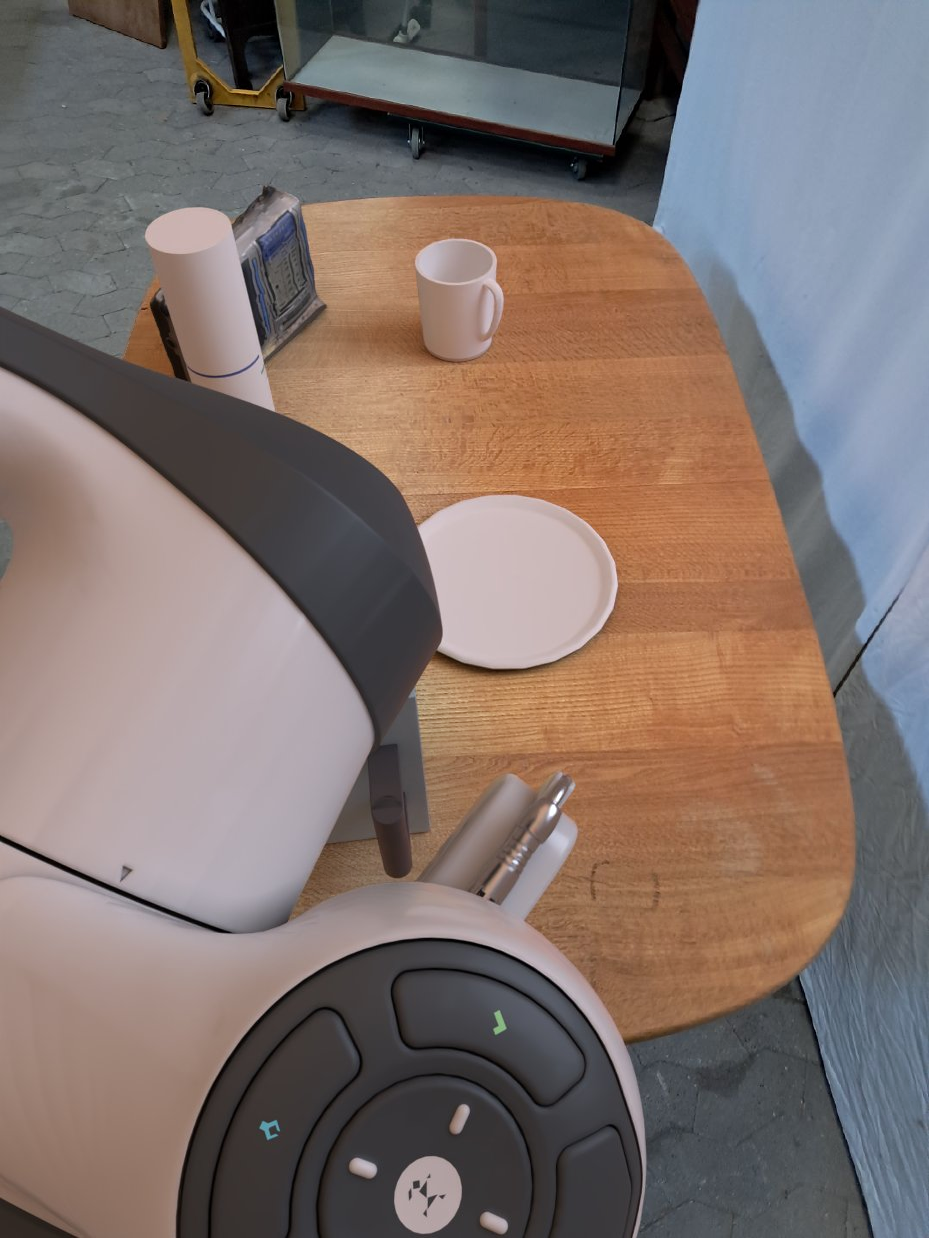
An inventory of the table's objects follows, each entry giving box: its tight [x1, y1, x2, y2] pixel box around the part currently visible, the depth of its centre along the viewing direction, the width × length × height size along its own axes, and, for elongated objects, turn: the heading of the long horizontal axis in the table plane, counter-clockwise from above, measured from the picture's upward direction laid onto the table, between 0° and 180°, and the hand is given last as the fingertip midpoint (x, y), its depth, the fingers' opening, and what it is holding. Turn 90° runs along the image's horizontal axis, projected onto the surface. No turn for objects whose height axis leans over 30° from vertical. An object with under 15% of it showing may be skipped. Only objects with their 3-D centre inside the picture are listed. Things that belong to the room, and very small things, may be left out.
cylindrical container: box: [144, 206, 276, 412], centre depth 86 cm, size 7×7×25 cm
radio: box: [149, 184, 328, 383], centre depth 100 cm, size 23×9×15 cm, turn 143°
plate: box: [417, 494, 619, 671], centre depth 84 cm, size 21×21×1 cm
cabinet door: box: [325, 686, 432, 879], centre depth 60 cm, size 6×18×20 cm, turn 97°
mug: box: [414, 238, 505, 363], centre depth 102 cm, size 11×9×10 cm
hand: (379, 987), depth 41 cm, fingers open, 8 cm apart
